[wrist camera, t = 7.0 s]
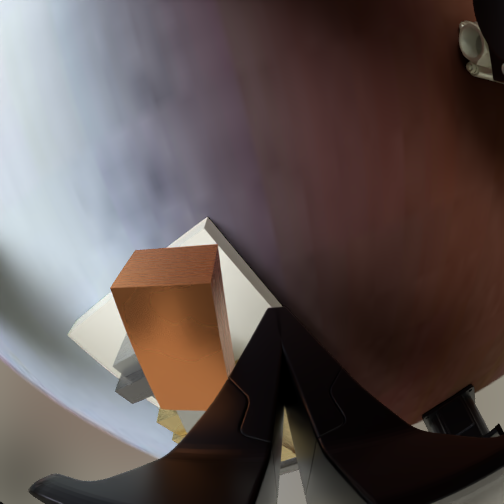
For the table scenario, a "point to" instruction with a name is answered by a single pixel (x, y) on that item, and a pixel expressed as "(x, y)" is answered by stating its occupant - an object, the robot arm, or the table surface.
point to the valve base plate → (236, 296)
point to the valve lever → (177, 325)
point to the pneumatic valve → (484, 40)
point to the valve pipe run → (138, 389)
